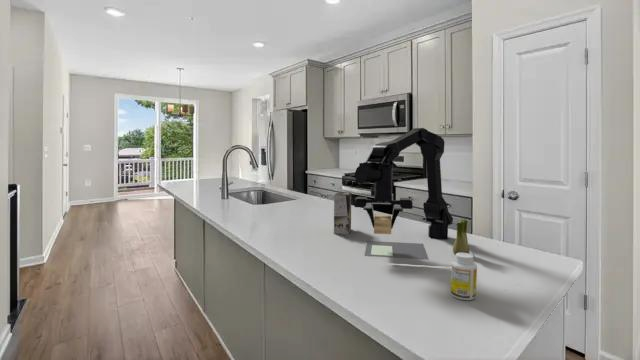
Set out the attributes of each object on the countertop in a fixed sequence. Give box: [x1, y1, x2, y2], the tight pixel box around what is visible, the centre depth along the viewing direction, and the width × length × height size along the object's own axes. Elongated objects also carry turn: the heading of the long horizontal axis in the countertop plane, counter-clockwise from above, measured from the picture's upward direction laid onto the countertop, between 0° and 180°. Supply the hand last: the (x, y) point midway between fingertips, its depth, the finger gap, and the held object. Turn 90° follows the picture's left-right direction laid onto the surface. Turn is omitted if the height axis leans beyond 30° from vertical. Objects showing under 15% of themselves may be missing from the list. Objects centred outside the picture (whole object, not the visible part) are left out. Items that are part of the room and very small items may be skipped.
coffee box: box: [333, 191, 352, 235], centre depth 147 cm, size 9×6×16 cm
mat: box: [363, 240, 429, 260], centre depth 121 cm, size 20×18×1 cm
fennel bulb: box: [452, 219, 470, 256], centre depth 115 cm, size 6×5×12 cm
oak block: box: [373, 213, 392, 235], centre depth 118 cm, size 9×6×4 cm, turn 169°
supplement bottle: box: [450, 252, 478, 301], centre depth 84 cm, size 6×6×10 cm
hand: (382, 228), depth 118 cm, fingers closed on oak block, 5 cm apart
